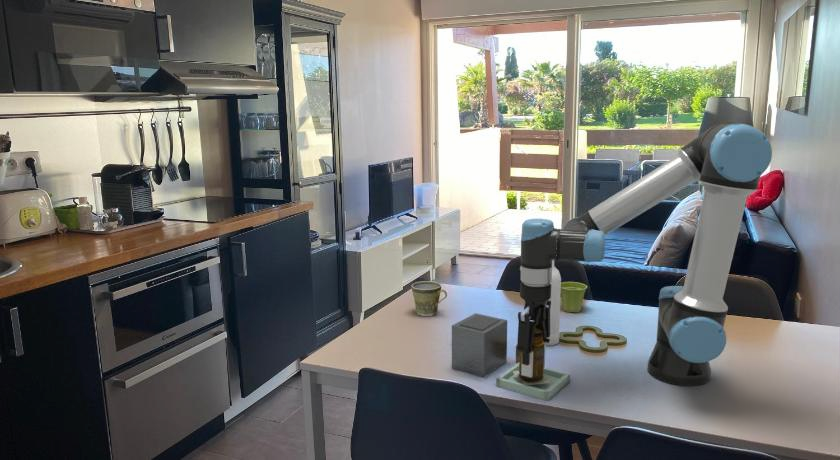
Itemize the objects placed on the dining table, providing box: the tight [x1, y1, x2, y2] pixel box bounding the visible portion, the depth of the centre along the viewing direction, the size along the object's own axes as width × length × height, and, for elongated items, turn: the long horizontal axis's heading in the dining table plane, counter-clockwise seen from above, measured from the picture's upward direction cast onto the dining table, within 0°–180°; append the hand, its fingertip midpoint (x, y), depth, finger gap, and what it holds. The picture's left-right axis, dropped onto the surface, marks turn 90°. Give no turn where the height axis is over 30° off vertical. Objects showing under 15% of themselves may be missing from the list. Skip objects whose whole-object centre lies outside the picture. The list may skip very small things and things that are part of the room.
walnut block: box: [515, 344, 520, 364], centre depth 171 cm, size 5×5×5 cm
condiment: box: [512, 328, 552, 385], centre depth 156 cm, size 7×8×12 cm
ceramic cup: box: [411, 280, 448, 317], centre depth 209 cm, size 13×10×10 cm
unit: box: [451, 313, 508, 378], centre depth 168 cm, size 10×12×12 cm
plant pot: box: [560, 281, 588, 314], centre depth 212 cm, size 9×9×9 cm
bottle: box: [533, 260, 562, 347], centre depth 183 cm, size 8×8×30 cm
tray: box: [495, 363, 571, 402], centre depth 158 cm, size 14×13×2 cm
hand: (533, 370), depth 157 cm, fingers closed on condiment, 6 cm apart
